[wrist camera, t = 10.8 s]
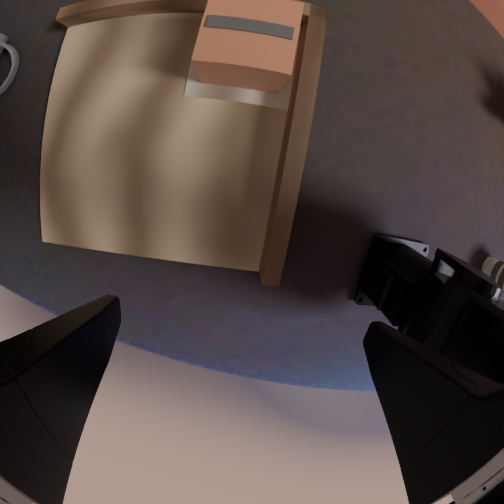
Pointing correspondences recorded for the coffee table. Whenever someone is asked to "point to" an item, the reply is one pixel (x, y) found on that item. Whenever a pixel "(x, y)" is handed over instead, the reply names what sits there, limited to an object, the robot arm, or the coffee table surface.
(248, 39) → the cube
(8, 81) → the ceramic mug
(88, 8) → the arena
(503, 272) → the coffee cup
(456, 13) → the coffee table surface
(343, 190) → the coffee table surface
